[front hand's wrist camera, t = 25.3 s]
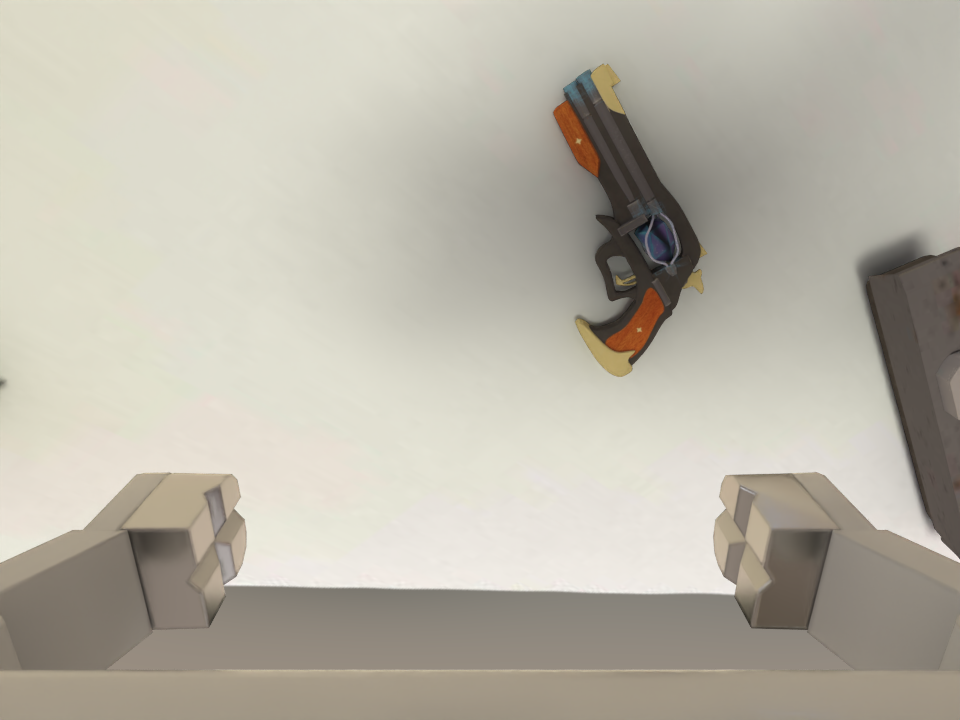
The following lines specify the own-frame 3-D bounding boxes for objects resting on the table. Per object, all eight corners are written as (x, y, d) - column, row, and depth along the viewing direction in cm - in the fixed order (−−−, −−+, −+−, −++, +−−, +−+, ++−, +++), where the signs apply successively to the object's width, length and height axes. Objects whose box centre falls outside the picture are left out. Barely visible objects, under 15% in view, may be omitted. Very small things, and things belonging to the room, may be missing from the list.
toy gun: (610, 388, 44) (746, 322, 41) (467, 150, 40) (608, 55, 37) (608, 374, 47) (736, 310, 44) (473, 147, 42) (606, 58, 39)
